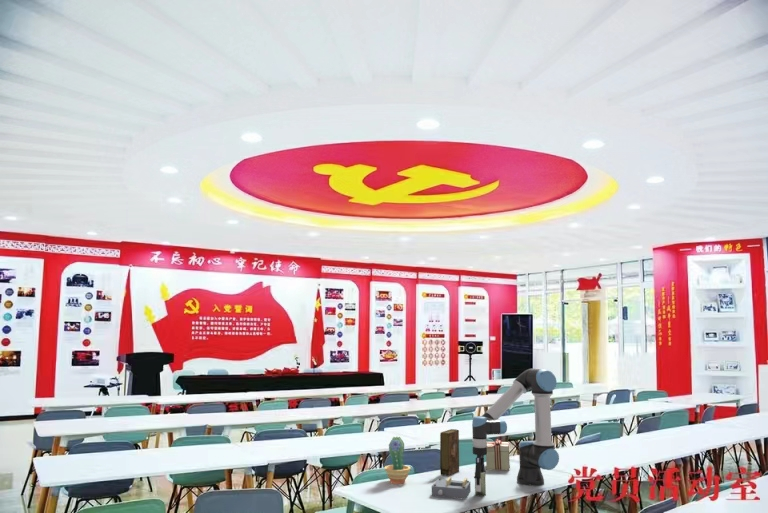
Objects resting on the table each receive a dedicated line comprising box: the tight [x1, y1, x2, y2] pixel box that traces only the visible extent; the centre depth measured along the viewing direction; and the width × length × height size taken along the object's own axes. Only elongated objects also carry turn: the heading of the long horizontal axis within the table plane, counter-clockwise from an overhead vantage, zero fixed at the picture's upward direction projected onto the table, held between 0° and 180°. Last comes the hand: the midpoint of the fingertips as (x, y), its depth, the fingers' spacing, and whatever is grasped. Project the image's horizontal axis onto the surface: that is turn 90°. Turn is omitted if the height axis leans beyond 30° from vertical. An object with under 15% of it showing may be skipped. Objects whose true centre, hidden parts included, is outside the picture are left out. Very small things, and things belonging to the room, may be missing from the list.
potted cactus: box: [384, 436, 412, 485], centre depth 328 cm, size 15×15×25 cm
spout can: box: [474, 472, 487, 497], centre depth 301 cm, size 6×6×14 cm
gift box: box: [485, 438, 511, 472], centre depth 365 cm, size 17×18×17 cm
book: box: [439, 428, 460, 477], centre depth 350 cm, size 16×6×25 cm, turn 148°
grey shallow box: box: [431, 476, 472, 500], centre depth 301 cm, size 18×18×8 cm
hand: (480, 488), depth 301 cm, fingers open, 13 cm apart
